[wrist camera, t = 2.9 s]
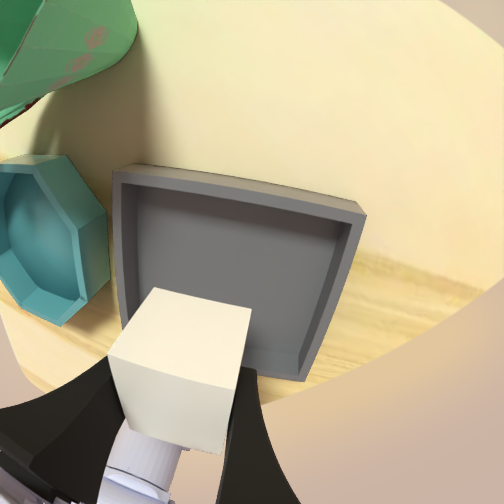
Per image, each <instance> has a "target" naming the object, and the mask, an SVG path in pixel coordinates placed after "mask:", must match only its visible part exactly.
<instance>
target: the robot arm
mask: <svg viewBox="0 0 504 504" xmlns="http://www.w3.org/2000/svg"><path fill="white" fill-rule="evenodd" d="M0 450H1V451H0V504H43V502H44V503H45V504H175V502H174V501H173V500H169V498H170V495H171V494H170V493H168V491H169V488H170V485H171V482H172V480H173V476H174V473H175V470H176V467H177V463H178V460H179V457H180V454H181V451H182V450H186V451H189V450H190V448H187V447H183V446H180V445H176V444H173V443H169V442H166V441H163V440H159V439H156V438H153V437H150V436H147V435H144V434H141V433H139V432H136V431H133V430H130V429H129V426H128V423H127V420H126V417H125V414H124V411H123V408H122V405H121V402H120V399H119V396H118V393H117V389H116V386H115V382H114V379H113V375H112V372H111V368H110V364H109V360H108V356H106V357H104V358H103V359H102V360H100V361H99V362H98V363H96V364H95V365H94V366H92V367H91V368H90V369H88V370H87V371H85V372H84V373H82V374H81V375H79V376H78V377H76V378H75V379H73V380H72V381H70V382H68V383H67V384H65V385H63V386H61V387H59V388H58V389H56V390H54V391H51V392H49V393H47V394H45V395H43V396H41V397H38V398H36V399H33V400H30V401H27V402H24V403H22V404H18V405H15V406H11V407H6V408H2V409H0ZM216 504H301V503H300V502H299V500H298V498H297V497H296V495H295V494H294V492H293V490H292V488H291V487H290V485H289V483H288V481H287V479H286V477H285V475H284V473H283V471H282V470H281V467H280V465H279V463H278V460H277V458H276V456H275V453H274V451H273V448H272V445H271V442H270V440H269V437H268V433H267V430H266V427H265V423H264V419H263V415H262V410H261V406H260V401H259V394H258V386H257V371H256V370H255V369H253V368H248V367H243V366H240V370H239V374H238V379H237V384H236V389H235V393H234V398H233V403H232V408H231V412H230V417H229V421H228V430H227V439H226V449H225V458H224V466H223V471H222V476H221V481H220V486H219V490H218V495H217V499H216Z"/></svg>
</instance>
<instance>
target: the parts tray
mask: <svg viewBox="0 0 504 504" xmlns="http://www.w3.org/2000/svg"><path fill="white" fill-rule="evenodd" d="M366 217H367V215H366V214H365V212H364V211H363V210H362V209H361V207H360V206H359V205H358V204H357V202H355V201H351V200H347V199H343V198H338V197H334V196H330V195H325V194H321V193H316V192H312V191H307V190H303V189H298V188H293V187H288V186H283V185H278V184H273V183H268V182H262V181H257V180H251V179H245V178H240V177H234V176H228V175H221V174H215V173H208V172H202V171H195V170H187V169H180V168H172V167H164V166H156V165H147V164H137V163H134V164H131V165H128V166H125V167H122V168H119V169H116V170H113V177H112V219H113V244H114V260H115V273H116V283H117V293H118V301H119V309H120V317H121V324H122V330H124V328H125V327H126V325H127V324H128V322H129V321H130V320H131V318H132V317H133V315H134V314H135V313H136V311H137V310H138V309H139V307H140V306H141V304H142V303H143V302H144V300H145V299H146V298H147V296H148V295H149V294H150V292H151V291H152V289H153V288H154V287H156V288H160V289H164V290H168V291H172V292H176V293H180V294H185V295H189V296H193V297H198V298H202V299H207V300H211V301H216V302H220V303H225V304H230V305H235V306H239V307H244V308H249V309H252V311H251V316H250V321H249V326H248V331H247V335H246V340H245V345H244V350H243V355H242V360H241V365H240V366H243V367H248V368H253V369H255V370H256V371H257V375H261V376H266V377H272V378H278V379H285V380H292V381H299V382H305V380H306V377H307V375H308V373H309V371H310V369H311V366H312V364H313V362H314V360H315V357H316V355H317V353H318V350H319V348H320V346H321V343H322V341H323V339H324V336H325V334H326V331H327V329H328V326H329V324H330V321H331V319H332V316H333V314H334V311H335V309H336V306H337V303H338V301H339V298H340V295H341V293H342V290H343V287H344V284H345V282H346V279H347V276H348V273H349V270H350V267H351V264H352V261H353V258H354V255H355V252H356V249H357V246H358V243H359V240H360V237H361V234H362V230H363V227H364V224H365V220H366Z"/></svg>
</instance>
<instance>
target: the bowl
mask: <svg viewBox="0 0 504 504" xmlns="http://www.w3.org/2000/svg"><path fill="white" fill-rule="evenodd" d="M110 279H111V275H110V264H109V252H108V236H107V212H106V211H105V209H104V208H103V206H102V205H101V204H100V202H99V201H98V200H97V198H96V197H95V196H94V194H93V193H92V191H91V190H90V189H89V187H88V186H87V184H86V183H85V181H84V180H83V179H82V177H81V176H80V174H79V173H78V171H77V170H76V168H75V167H74V165H73V164H72V162H71V161H70V159H69V158H68V156H67V155H36V154H24V155H20V156H17V157H14V158H10V159H7V160H4V161H1V162H0V280H1V281H2V283H3V284H4V286H5V287H6V289H7V290H8V291H9V293H10V294H11V296H12V297H13V298H14V300H15V301H16V302H17V304H18V305H19V306H20V308H22V309H24V310H26V311H28V312H30V313H32V314H34V315H36V316H38V317H40V318H42V319H44V320H47V321H49V322H51V323H53V324H55V325H58V326H60V327H61V326H62V325H63V324H64V323H65V322H66V321H67V320H69V319H70V318H71V317H72V316H73V315H74V314H75V313H76V312H77V311H79V310H80V309H81V308H82V307H83V306H84V305H85V304H86V303H88V302H89V300H90V299H91V298H92V297H93V296H94V295H95V294H96V293H97V292H98V291H99V290H100V289H101V288H102V287H103V286H104V285H105V284H106V283H107V282H108V281H109V280H110Z"/></svg>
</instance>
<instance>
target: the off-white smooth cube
mask: <svg viewBox="0 0 504 504" xmlns="http://www.w3.org/2000/svg"><path fill="white" fill-rule="evenodd" d="M251 311H252V309H249V308H244V307H239V306H235V305H230V304H225V303H220V302H216V301H211V300H207V299H202V298H198V297H193V296H189V295H185V294H180V293H176V292H172V291H168V290H164V289H160V288H156V287H154V288H153V289H152V291H151V292H150V294H149V295H148V296H147V298H146V299H145V300H144V302H143V303H142V304H141V306H140V307H139V309H138V310H137V311H136V313H135V314H134V315H133V317H132V318H131V320H130V321H129V322H128V324H127V325H126V327H125V328H124V330H123V331H122V332H121V334H120V335H119V337H118V338H117V340H116V341H115V342H114V344H113V345H112V347H111V348H110V350H109V351H108V353H107V356H108V360H109V364H110V368H111V372H112V375H113V379H114V382H115V386H116V389H117V393H118V396H119V399H120V402H121V405H122V408H123V411H124V414H125V417H126V420H127V423H128V426H129V429H130V430H133V431H136V432H139V433H141V434H144V435H147V436H150V437H153V438H156V439H159V440H163V441H166V442H169V443H173V444H176V445H180V446H183V447H187V448H191V449H195V450H199V451H203V452H208V453H212V454H216V455H221V453H222V448H223V444H224V440H225V435H226V431H227V426H228V421H229V417H230V412H231V408H232V403H233V398H234V393H235V389H236V384H237V379H238V374H239V370H240V365H241V360H242V355H243V350H244V345H245V340H246V335H247V331H248V326H249V321H250V316H251Z"/></svg>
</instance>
